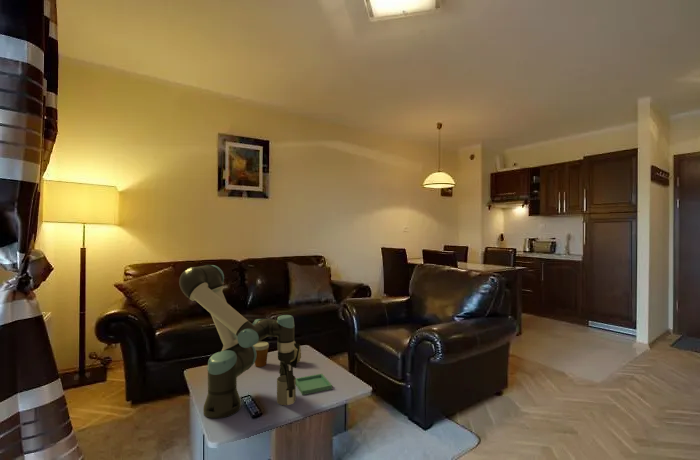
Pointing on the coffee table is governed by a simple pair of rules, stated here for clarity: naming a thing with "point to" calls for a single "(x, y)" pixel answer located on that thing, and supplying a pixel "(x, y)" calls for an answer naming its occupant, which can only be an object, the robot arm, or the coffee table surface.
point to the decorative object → (296, 355)
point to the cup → (283, 390)
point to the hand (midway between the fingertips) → (286, 397)
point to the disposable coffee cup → (261, 353)
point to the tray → (313, 384)
